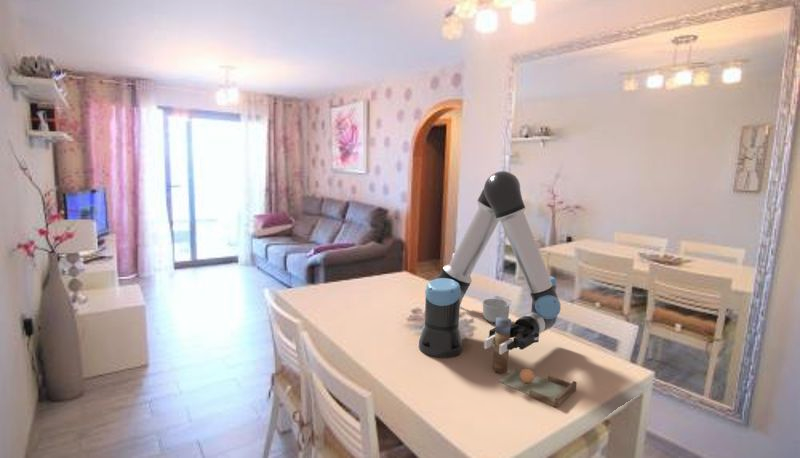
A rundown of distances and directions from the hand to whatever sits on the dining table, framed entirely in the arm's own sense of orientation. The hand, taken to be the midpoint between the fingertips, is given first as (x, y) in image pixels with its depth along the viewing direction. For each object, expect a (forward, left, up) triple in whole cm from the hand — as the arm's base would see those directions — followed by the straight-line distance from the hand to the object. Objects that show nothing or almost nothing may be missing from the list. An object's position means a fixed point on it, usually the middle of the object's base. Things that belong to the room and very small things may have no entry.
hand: (492, 346), depth 124 cm
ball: (+10, -1, -8) cm, 13 cm away
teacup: (+7, +50, -10) cm, 51 cm away
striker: (+3, +4, -9) cm, 10 cm away
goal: (+13, -3, -10) cm, 16 cm away
